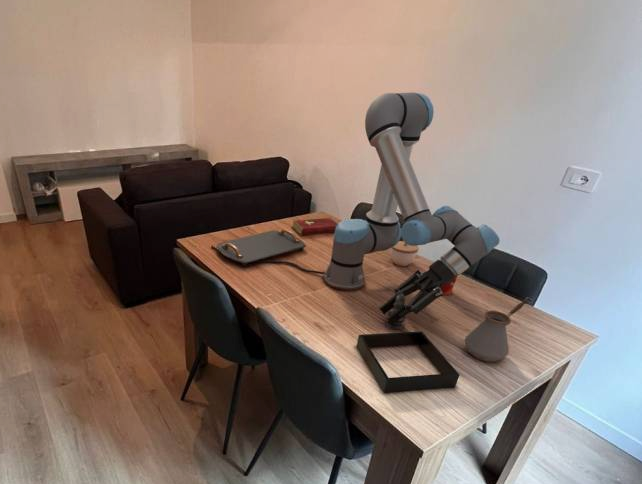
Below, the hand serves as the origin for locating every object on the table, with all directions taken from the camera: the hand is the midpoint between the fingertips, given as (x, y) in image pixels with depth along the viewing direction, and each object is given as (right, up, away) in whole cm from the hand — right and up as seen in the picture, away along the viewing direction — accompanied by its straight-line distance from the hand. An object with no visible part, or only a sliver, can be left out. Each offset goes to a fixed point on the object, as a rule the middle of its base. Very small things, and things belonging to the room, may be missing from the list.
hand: (385, 316), depth 129 cm
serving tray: (-38, +27, +51) cm, 69 cm away
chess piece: (+4, -3, +2) cm, 5 cm away
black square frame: (-1, -13, -16) cm, 21 cm away
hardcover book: (-10, +40, +75) cm, 85 cm away
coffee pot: (+29, -9, -7) cm, 32 cm away
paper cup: (+29, +8, +23) cm, 38 cm away
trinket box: (+21, +21, +44) cm, 53 cm away
